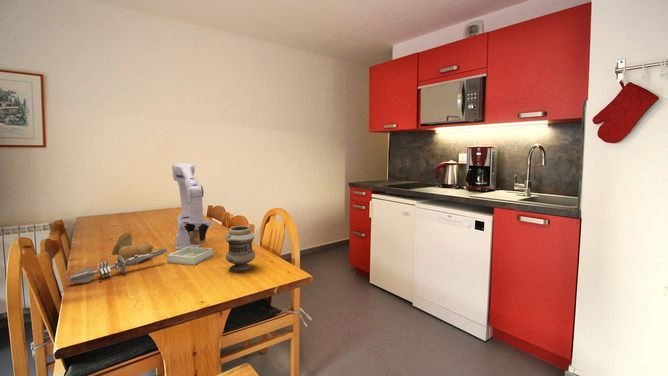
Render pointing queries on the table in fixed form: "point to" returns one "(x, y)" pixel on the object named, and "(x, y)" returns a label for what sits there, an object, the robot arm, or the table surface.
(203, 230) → the robot arm
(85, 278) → the spaceship
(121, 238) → the rock
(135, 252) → the potato
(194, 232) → the walnut block
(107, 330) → the table surface
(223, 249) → the table surface
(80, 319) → the table surface
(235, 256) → the apothecary jar
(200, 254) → the sage tray
